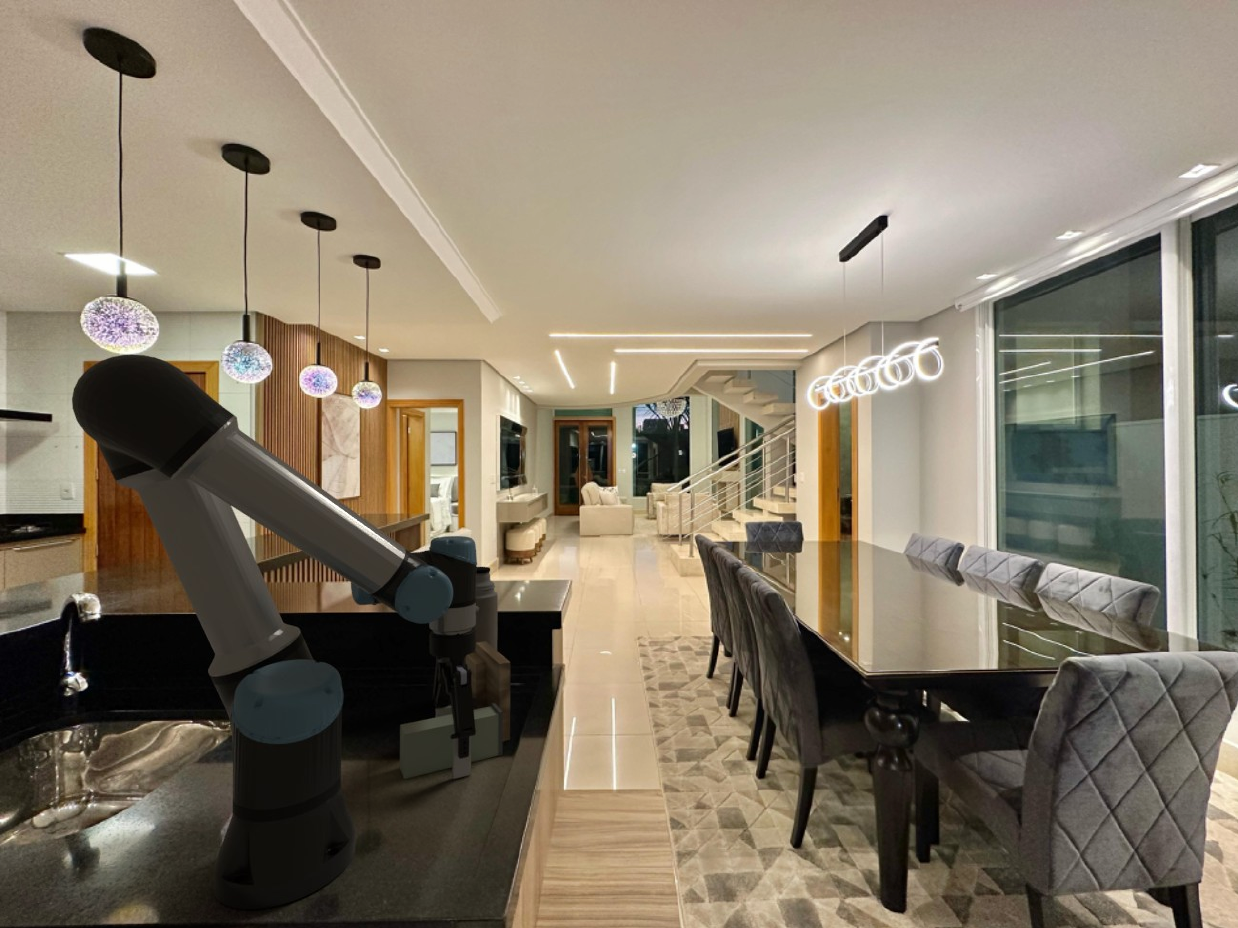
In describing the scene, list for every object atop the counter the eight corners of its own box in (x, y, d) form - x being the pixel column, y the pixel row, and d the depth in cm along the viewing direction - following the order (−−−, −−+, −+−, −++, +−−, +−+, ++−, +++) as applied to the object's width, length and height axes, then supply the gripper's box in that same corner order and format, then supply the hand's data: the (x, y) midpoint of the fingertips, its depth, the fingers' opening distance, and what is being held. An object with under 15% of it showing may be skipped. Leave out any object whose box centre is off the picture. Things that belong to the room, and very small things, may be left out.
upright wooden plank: (460, 751, 100) (460, 670, 101) (438, 717, 114) (439, 646, 115) (509, 739, 105) (510, 662, 105) (483, 708, 119) (484, 639, 119)
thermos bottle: (478, 688, 130) (479, 563, 130) (504, 696, 125) (505, 566, 126) (450, 700, 123) (451, 568, 123) (477, 709, 119) (478, 571, 119)
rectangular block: (404, 779, 91) (404, 732, 91) (399, 767, 95) (400, 721, 95) (502, 754, 99) (502, 711, 99) (494, 744, 103) (494, 702, 103)
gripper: (497, 643, 89) (496, 786, 89) (457, 611, 110) (456, 727, 109) (447, 651, 86) (446, 800, 85) (416, 616, 106) (415, 736, 106)
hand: (452, 759), depth 97 cm, fingers open, 11 cm apart
